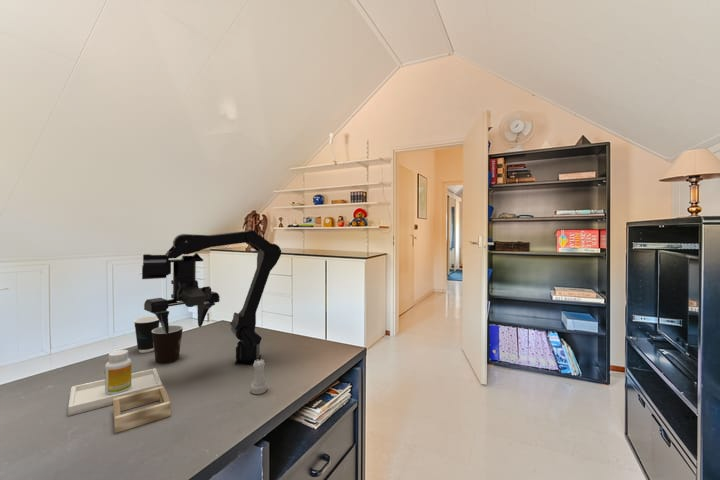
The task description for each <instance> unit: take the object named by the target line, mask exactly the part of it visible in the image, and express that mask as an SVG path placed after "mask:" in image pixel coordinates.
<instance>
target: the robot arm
mask: <svg viewBox="0 0 720 480" xmlns="http://www.w3.org/2000/svg"><path fill="white" fill-rule="evenodd" d="M245 243H247V244H248V245H249V246H250V247H251V248H252V249H254V251H256V252H257V257H256V269H255V271H254V275H253V277H252V281H251V283H250V286H249V289H248V292H247V295H246V297H245V301H244V303H243V306H242V308H241V310H240V311H239V312H238V313H237V312H234V313H233V314H232V315H233V316H232V320H231V322H230V323H229V325H230V326H231V327H230V330H231V332H232V334H233V335H234V337H236V339H237V340H239V341H238V342H237V343H236V344H237V346H236V347H235V361H234V364H235V365H253V364H254V361H255V360H256V361H257V360H258V359H259V360H260V359H262V355H261V354H260V352H261V350H260V346H261V345H260V344H261V342H262V336H260V335H259V333H257V332H256V324H257V310H258V308H259V304H260V301H261V299H262V296H263V293H264V290H265V287H266V285H267V282H268V278H269V276H270V273H271V271H272V270H273V268H274V267H275V266H276V265H277V264H278V261H279V259H280V257H281V255H282V249H281V248H280V245H278V244H277V243H271V242H270V241H268V240H267V239H265V238H264V237H263V236H261V235H259V234H258V233H257V232H256V231H255V230H252V229H251V230H250V229H246V230H244V231H243V230H241V231H234V232H224V233H216V234H215V233H214V234H192V233H191V234H189V233H181V234H178V235H177V236H175V237H174V239H173V240H172V246H171V247H170V248H169V249H168V250H167V251H166V253H165V254H148V253H147V254H146V253H145V254H143V255H142V265H141V279H142V280H153V279H156V280H157V279H166V278H167V276H169V275H171V274H172V278H173V279H172V280H171V281H170V282H171V285H172V293H171V294H170V295H171V297H170V299H165V298H162V297H155V298H149V299H146V300H145V301H144V304H143V310H144V311H147V312H149V313H152V314H154V316H157V318H158V319H159V321H160V322H159V324H160V326H161V327H162V328H163V330H164V332H165V334H168V332H169V326H170V324H169V314H170V311H168V309H169V307H174V306H175V307H176V306H182V305H185V306H186V307H187V308H192V307H195V306H196V307H197V308H196V309H197V325H198V327H199V328H202V326H203V323H204V321H205V318H206V316H207V314H208V312H209V310H210V309H211V308H212V307H214V306H215V305H216V303H220V298H221V297H220V294H219V293H218V292H215V291H212V287H211V286H203V287H200V286H199V282H198V280H197V278H196V277H197V276H196V273H197V272H196V265H197V263H196V262H204V258H202V257H201V256H200V255H199V253H198V252H200V251H203V250H206V249H208V248H209V249H210V248H213V247H214V248H215V247H221V246H229V245H238V244H239V245H240V244H245ZM191 254H193V255H191ZM180 256H181V258H180ZM177 258H179V259H177ZM172 267H173V269H172ZM172 270H173V271H172ZM171 272H172V273H171Z"/></svg>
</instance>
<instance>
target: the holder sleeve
mask: <svg viewBox="0 0 720 480" xmlns="http://www.w3.org/2000/svg"><path fill="white" fill-rule="evenodd" d="M155 402H159V404H156V405H155V404H154V405H151V406H147V407H144V408H141V409H137V410H134V411H130V412H126V413H123V414H121V412H123V411H126V410H130V409H134V408H138V407H141V406H145V405H149V404H151V403H155ZM112 409H113V410H112V411H113V412H112V413H113V414H112V415H113V425H114V426H113V427H114V434H116V433H117V434H118V433H120V432H123V431H126V430H130V429H133V428H136V427H139V426H142V425H146V424H150V423H151V422H152V423H153V422H155V421H159V420H162V419H166V418H168V417H171V411H172V410H171V401H170V398H169V396H168V394H167V390H166V388H165V386H164V385H162V386H161V387H157V388H153V389H149V390H145V391H141V392H137V393H133V394H129V395H125V396H121V397H117V398H114V399H113V405H112Z"/></svg>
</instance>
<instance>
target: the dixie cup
mask: <svg viewBox="0 0 720 480" xmlns="http://www.w3.org/2000/svg"><path fill="white" fill-rule="evenodd" d="M132 322H133V323H134V330H135V337H136V338H135V339H136V345H137V346H136V347H137V350H138V352H139V353H145V354H146V353H149V352H151V353H152V352H153V351H154V346H153V338H152V330H153V329H156V328H159V327H160V321H159V319H158V318H157V316H156V315H149V316H141V317H138V318H135V319H133V321H132Z"/></svg>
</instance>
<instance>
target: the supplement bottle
mask: <svg viewBox="0 0 720 480" xmlns="http://www.w3.org/2000/svg"><path fill="white" fill-rule="evenodd" d="M104 367H105V368H104V379H105V392H106V393H107V394H118V393H122V392H125V391H127V390H128V389H130V388H131V373H132V359H131V358H129V350H128V349H118V350H114V351H111V352H109V353H108V361H107V362H106V363H105V365H104Z"/></svg>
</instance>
